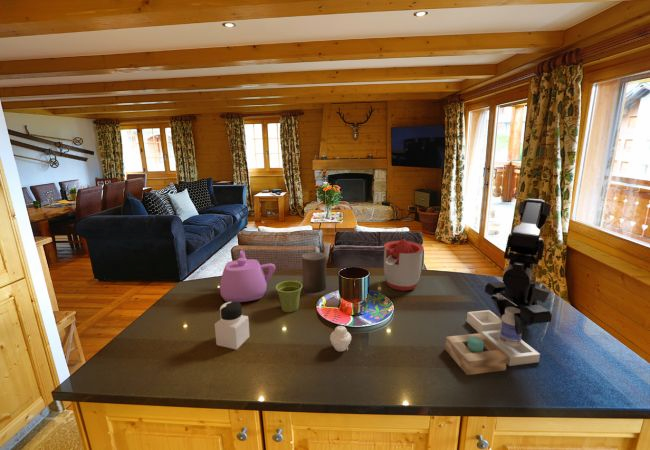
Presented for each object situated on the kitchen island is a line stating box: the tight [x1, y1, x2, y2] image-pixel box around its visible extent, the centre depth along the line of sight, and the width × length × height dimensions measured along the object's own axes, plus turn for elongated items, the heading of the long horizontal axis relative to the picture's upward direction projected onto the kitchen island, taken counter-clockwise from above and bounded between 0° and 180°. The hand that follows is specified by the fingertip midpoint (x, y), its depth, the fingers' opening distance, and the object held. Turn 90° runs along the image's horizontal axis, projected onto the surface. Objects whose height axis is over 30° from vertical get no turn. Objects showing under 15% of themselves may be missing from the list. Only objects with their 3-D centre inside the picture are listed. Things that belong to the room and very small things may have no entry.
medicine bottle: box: [214, 301, 250, 350], centre depth 98 cm, size 7×7×12 cm
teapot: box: [219, 249, 276, 303], centre depth 130 cm, size 23×21×15 cm
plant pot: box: [275, 280, 303, 313], centre depth 117 cm, size 9×9×9 cm
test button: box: [467, 337, 484, 353], centre depth 90 cm, size 4×4×4 cm
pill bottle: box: [499, 307, 523, 346], centre depth 92 cm, size 5×5×10 cm
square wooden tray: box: [444, 332, 508, 376], centre depth 90 cm, size 11×11×4 cm
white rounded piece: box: [329, 325, 352, 352], centre depth 95 cm, size 6×6×7 cm
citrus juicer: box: [383, 238, 424, 292], centre depth 133 cm, size 16×17×20 cm
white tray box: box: [466, 309, 501, 333], centre depth 105 cm, size 8×8×4 cm
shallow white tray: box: [481, 330, 541, 367], centre depth 94 cm, size 9×12×2 cm
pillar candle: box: [301, 251, 327, 293], centre depth 133 cm, size 10×10×15 cm
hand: (511, 328), depth 93 cm, fingers closed on pill bottle, 5 cm apart
